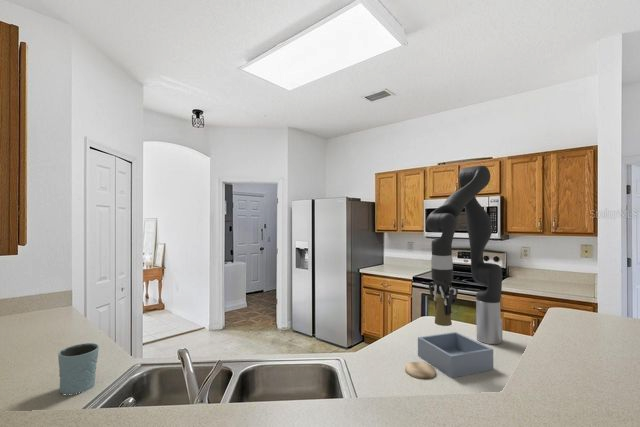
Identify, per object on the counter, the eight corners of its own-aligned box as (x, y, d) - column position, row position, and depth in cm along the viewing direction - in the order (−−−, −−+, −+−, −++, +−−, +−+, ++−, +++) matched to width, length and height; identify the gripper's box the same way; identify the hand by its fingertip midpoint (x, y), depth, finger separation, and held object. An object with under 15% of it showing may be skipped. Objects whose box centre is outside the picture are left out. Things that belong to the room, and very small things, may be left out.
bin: (455, 349, 127) (455, 331, 127) (493, 369, 110) (493, 349, 110) (417, 355, 122) (417, 337, 122) (451, 377, 105) (451, 356, 105)
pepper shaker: (453, 326, 114) (452, 295, 114) (435, 325, 115) (434, 295, 116) (450, 320, 120) (449, 291, 120) (433, 320, 121) (432, 291, 121)
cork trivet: (423, 363, 115) (423, 360, 115) (442, 375, 106) (442, 372, 106) (399, 367, 112) (399, 364, 112) (416, 380, 103) (416, 377, 103)
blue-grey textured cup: (68, 381, 102) (69, 344, 102) (104, 378, 105) (104, 341, 105) (49, 399, 92) (50, 357, 93) (89, 394, 95) (89, 354, 95)
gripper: (464, 269, 112) (465, 317, 112) (437, 263, 126) (438, 306, 126) (446, 270, 110) (447, 320, 110) (421, 264, 124) (422, 308, 124)
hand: (443, 312), depth 118 cm, fingers closed on pepper shaker, 4 cm apart
